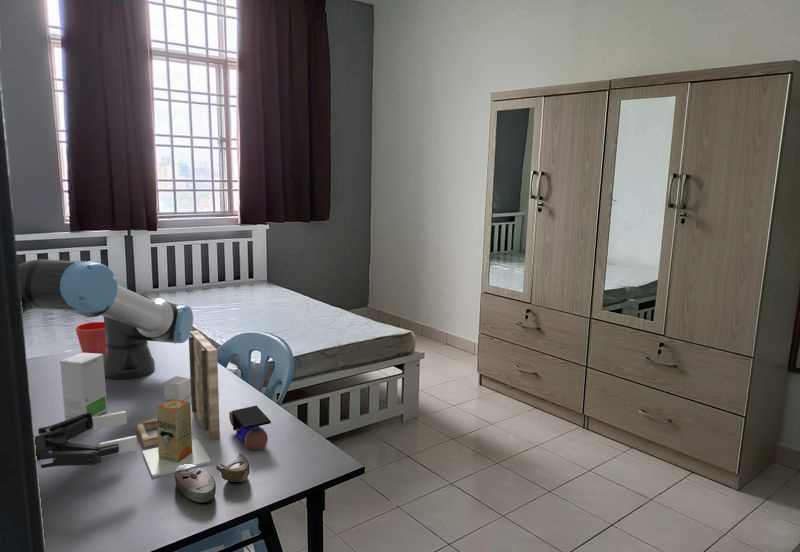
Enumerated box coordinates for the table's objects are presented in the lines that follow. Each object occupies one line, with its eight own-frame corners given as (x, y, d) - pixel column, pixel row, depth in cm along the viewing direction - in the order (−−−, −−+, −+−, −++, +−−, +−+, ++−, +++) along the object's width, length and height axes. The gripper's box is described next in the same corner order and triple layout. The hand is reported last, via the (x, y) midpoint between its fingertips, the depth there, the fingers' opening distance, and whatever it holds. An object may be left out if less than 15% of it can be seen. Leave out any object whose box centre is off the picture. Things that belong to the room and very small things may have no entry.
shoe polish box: (177, 462, 125) (175, 410, 123) (158, 458, 127) (156, 407, 125) (192, 452, 130) (190, 402, 128) (174, 448, 131) (171, 398, 129)
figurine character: (227, 436, 143) (245, 456, 130) (225, 406, 142) (243, 423, 129) (254, 430, 146) (274, 449, 133) (253, 401, 145) (273, 417, 132)
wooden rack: (134, 423, 145) (129, 338, 140) (200, 410, 153) (197, 330, 149) (147, 454, 130) (141, 360, 126) (219, 437, 138) (217, 349, 134)
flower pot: (86, 348, 201) (84, 321, 199) (118, 348, 202) (117, 321, 200) (71, 358, 190) (69, 329, 188) (106, 358, 191) (104, 330, 189)
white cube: (164, 399, 160) (163, 382, 159) (176, 392, 165) (175, 376, 164) (179, 401, 159) (178, 384, 158) (191, 395, 163) (190, 378, 163)
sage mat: (142, 453, 130) (142, 450, 130) (197, 441, 136) (197, 438, 136) (152, 477, 120) (152, 475, 120) (211, 463, 127) (211, 460, 126)
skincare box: (85, 423, 144) (81, 363, 141) (62, 420, 145) (57, 361, 142) (108, 410, 152) (104, 353, 149) (86, 407, 153) (82, 350, 150)
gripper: (12, 445, 121) (123, 423, 133) (11, 503, 101) (142, 472, 112) (8, 411, 120) (121, 392, 131) (6, 464, 100) (140, 436, 111)
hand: (131, 429), depth 122 cm, fingers open, 13 cm apart
